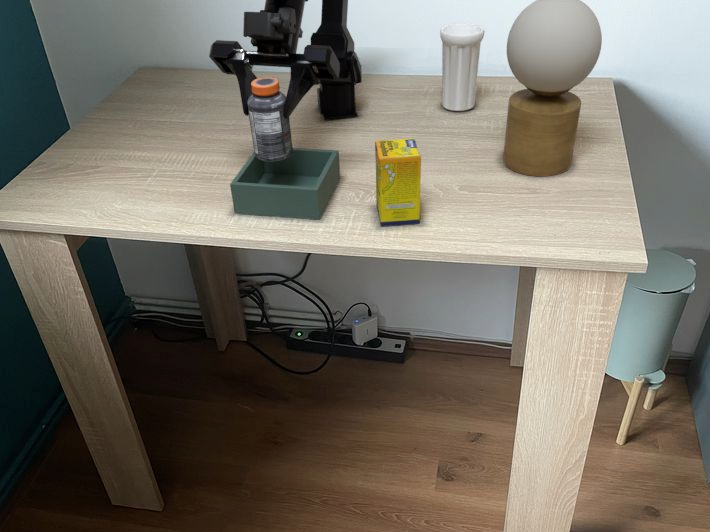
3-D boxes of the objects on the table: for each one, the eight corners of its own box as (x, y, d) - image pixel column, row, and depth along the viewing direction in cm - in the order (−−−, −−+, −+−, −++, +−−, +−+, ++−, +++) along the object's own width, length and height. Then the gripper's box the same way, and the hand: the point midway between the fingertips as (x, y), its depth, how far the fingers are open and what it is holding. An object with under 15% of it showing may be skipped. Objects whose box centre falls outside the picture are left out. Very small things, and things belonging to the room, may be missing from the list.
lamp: (505, 134, 131) (520, -18, 115) (586, 142, 127) (613, -14, 111) (487, 171, 120) (501, 8, 104) (576, 181, 116) (604, 14, 100)
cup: (430, 110, 140) (432, 32, 131) (448, 96, 146) (451, 20, 136) (468, 117, 137) (473, 38, 128) (486, 102, 142) (492, 25, 133)
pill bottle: (273, 142, 115) (264, 70, 108) (301, 151, 113) (294, 78, 105) (246, 156, 112) (235, 83, 105) (274, 166, 109) (265, 91, 102)
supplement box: (375, 207, 112) (374, 140, 105) (414, 204, 112) (415, 137, 105) (379, 227, 107) (378, 158, 100) (420, 224, 107) (421, 154, 100)
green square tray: (261, 173, 122) (257, 145, 119) (340, 178, 120) (338, 150, 116) (234, 213, 112) (229, 184, 109) (319, 220, 110) (317, 189, 106)
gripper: (202, -19, 102) (183, 88, 101) (329, -16, 98) (309, 96, 97) (233, 22, 113) (215, 119, 112) (348, 27, 109) (331, 128, 108)
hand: (265, 116), depth 107 cm, fingers closed on pill bottle, 6 cm apart
